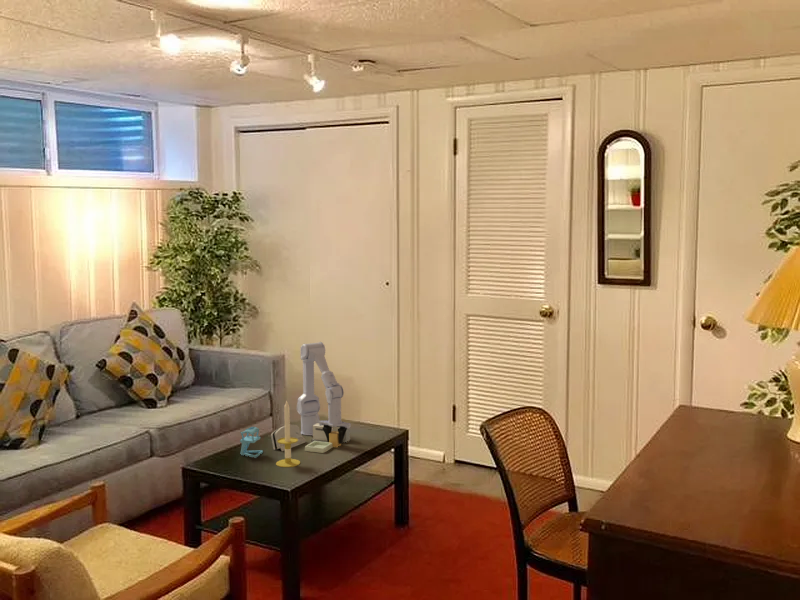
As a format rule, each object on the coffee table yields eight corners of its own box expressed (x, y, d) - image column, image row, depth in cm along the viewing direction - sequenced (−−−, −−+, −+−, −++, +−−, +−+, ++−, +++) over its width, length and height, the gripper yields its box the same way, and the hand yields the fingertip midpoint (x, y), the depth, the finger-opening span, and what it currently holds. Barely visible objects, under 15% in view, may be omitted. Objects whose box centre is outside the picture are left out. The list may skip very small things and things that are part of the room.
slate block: (341, 439, 360) (341, 426, 359) (349, 440, 359) (349, 427, 358) (338, 441, 356) (337, 428, 356) (346, 442, 355) (345, 429, 354)
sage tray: (314, 445, 351) (314, 440, 351) (332, 447, 348) (332, 442, 348) (304, 450, 343) (304, 446, 343) (323, 453, 340) (323, 448, 339)
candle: (301, 466, 322) (299, 401, 319) (276, 468, 320) (274, 403, 317) (299, 458, 332) (298, 396, 329) (275, 460, 330) (273, 397, 327)
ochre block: (333, 444, 353) (332, 431, 352) (341, 445, 351) (341, 431, 351) (329, 446, 349) (328, 433, 349) (337, 447, 348) (337, 434, 347)
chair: (245, 451, 343) (244, 424, 342) (263, 452, 341) (262, 425, 340) (237, 456, 336) (236, 429, 334) (255, 458, 334) (254, 430, 332)
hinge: (281, 451, 342) (275, 429, 343) (274, 453, 345) (267, 431, 346) (306, 441, 356) (300, 420, 357) (298, 443, 359) (292, 422, 360)
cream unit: (317, 437, 362) (317, 422, 362) (335, 439, 359) (334, 424, 358) (311, 441, 357) (310, 425, 356) (329, 443, 354) (328, 427, 353)
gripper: (315, 413, 348) (316, 443, 349) (345, 416, 342) (346, 446, 344) (323, 409, 354) (323, 439, 356) (352, 412, 349) (352, 442, 350)
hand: (335, 442), depth 350 cm, fingers open, 5 cm apart
